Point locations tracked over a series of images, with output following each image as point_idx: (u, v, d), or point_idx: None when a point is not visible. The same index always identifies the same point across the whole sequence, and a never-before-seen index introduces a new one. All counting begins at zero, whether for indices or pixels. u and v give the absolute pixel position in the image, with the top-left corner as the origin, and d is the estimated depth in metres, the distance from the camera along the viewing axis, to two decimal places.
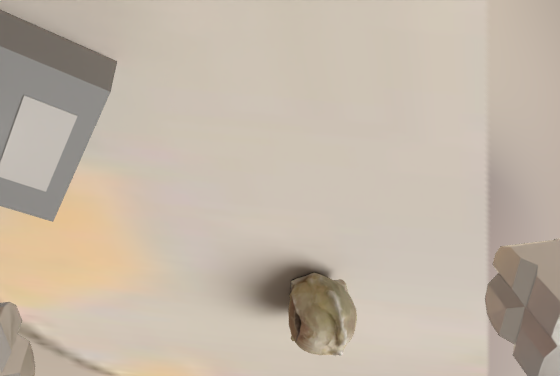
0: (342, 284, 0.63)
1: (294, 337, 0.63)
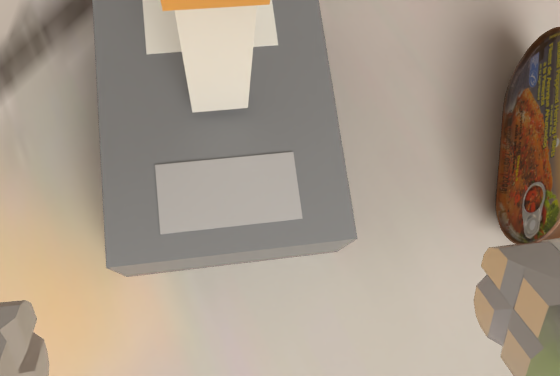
0: None
1: None
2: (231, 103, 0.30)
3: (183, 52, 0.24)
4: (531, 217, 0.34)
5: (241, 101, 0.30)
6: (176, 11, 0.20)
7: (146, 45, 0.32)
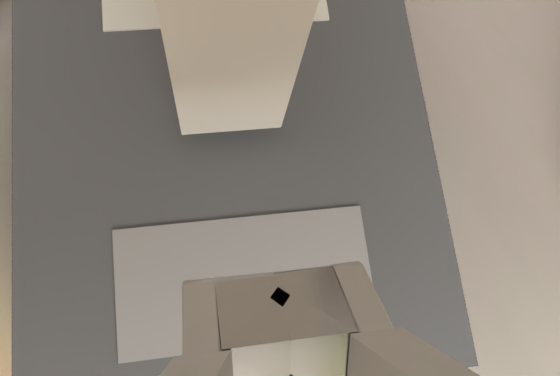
0: None
1: None
2: (252, 119, 0.16)
3: (159, 4, 0.10)
4: None
5: (271, 116, 0.16)
6: None
7: (103, 16, 0.18)
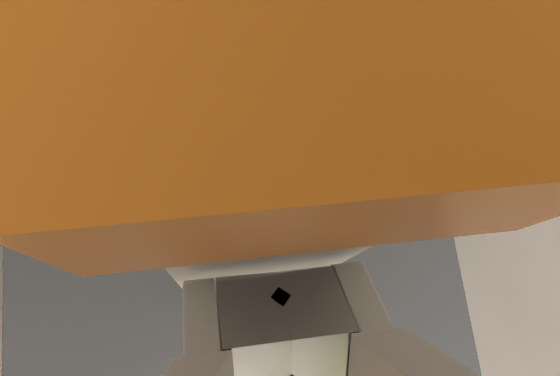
0: None
1: None
2: None
3: (172, 272, 0.08)
4: None
5: None
6: None
7: None
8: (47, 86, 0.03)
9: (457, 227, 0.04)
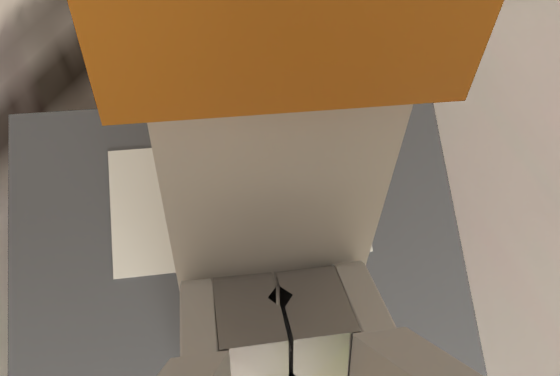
0: None
1: None
2: None
3: None
4: None
5: None
6: (157, 145, 0.06)
7: (114, 259, 0.16)
8: None
9: (403, 63, 0.05)
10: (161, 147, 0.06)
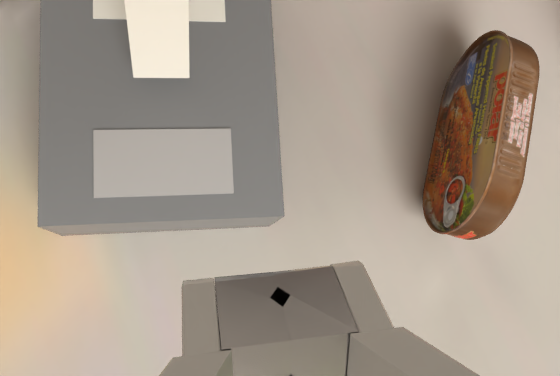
0: None
1: None
2: (171, 66, 0.30)
3: None
4: (450, 208, 0.36)
5: (181, 64, 0.30)
6: None
7: (93, 9, 0.32)
8: None
9: None
10: None
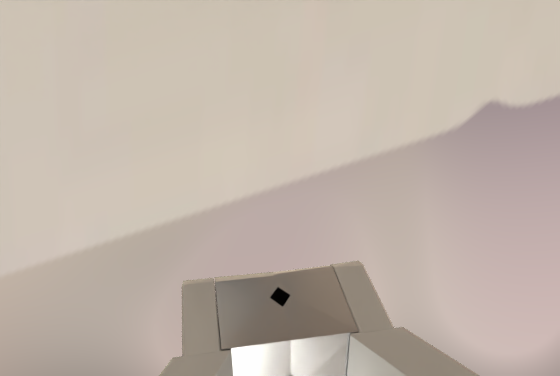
0: None
1: None
2: None
3: None
4: None
5: None
6: None
7: None
8: None
9: None
10: None
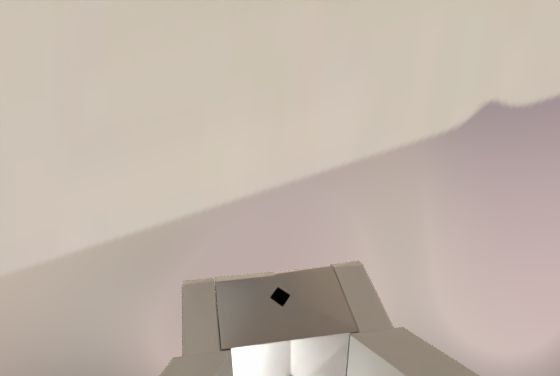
0: None
1: None
2: None
3: None
4: None
5: None
6: None
7: None
8: None
9: None
10: None
